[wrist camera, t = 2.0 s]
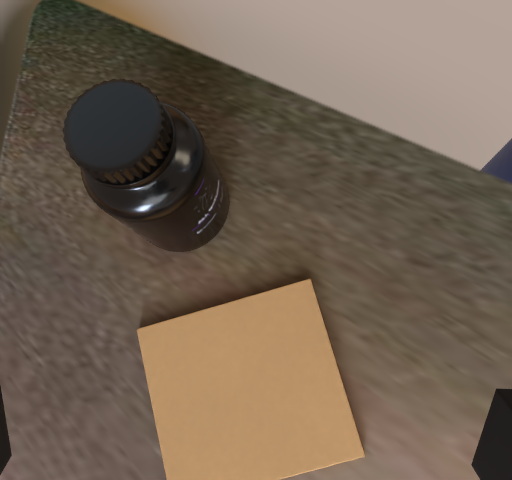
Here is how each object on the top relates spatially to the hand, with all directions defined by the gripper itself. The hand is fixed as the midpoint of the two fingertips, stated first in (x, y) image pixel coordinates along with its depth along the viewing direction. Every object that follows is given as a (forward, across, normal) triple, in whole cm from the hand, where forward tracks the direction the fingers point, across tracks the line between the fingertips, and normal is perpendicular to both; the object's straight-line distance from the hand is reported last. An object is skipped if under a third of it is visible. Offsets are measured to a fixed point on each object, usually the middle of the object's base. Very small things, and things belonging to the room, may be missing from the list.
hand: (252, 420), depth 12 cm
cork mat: (+14, +1, -10) cm, 17 cm away
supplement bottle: (+21, -4, -1) cm, 22 cm away
